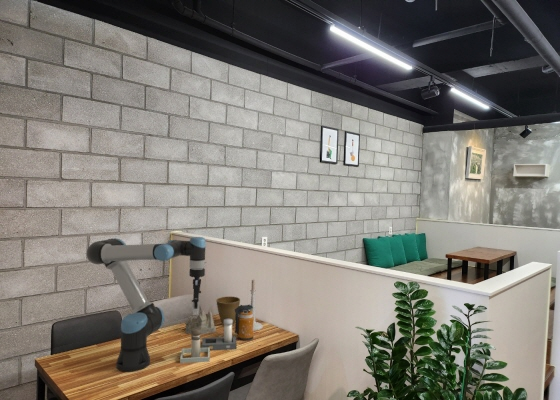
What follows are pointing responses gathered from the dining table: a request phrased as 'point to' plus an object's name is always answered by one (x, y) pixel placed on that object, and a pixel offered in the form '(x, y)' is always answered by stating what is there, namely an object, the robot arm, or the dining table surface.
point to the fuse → (228, 330)
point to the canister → (244, 322)
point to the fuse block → (219, 343)
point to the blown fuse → (195, 342)
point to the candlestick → (256, 325)
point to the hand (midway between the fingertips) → (196, 310)
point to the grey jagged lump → (201, 323)
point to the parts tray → (195, 359)
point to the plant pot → (227, 308)
